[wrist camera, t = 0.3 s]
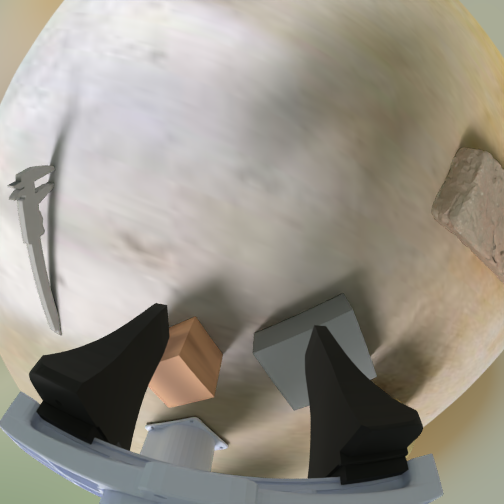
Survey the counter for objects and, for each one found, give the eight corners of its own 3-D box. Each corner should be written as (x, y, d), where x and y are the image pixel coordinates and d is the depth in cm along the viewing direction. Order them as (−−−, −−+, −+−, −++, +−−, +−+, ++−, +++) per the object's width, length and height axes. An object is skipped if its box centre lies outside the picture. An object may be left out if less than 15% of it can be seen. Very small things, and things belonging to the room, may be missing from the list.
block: (183, 367, 27) (169, 407, 21) (156, 332, 25) (134, 370, 20) (223, 354, 26) (214, 396, 20) (195, 315, 25) (178, 355, 19)
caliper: (51, 164, 21) (7, 169, 15) (57, 165, 21) (14, 169, 15) (57, 331, 27) (30, 357, 21) (63, 334, 27) (36, 361, 21)
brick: (425, 216, 21) (455, 227, 17) (456, 143, 19) (487, 142, 14) (498, 282, 23) (520, 297, 18) (523, 225, 20) (547, 235, 16)
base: (292, 390, 27) (294, 410, 24) (253, 333, 25) (252, 353, 22) (368, 358, 25) (376, 376, 23) (343, 293, 23) (352, 309, 20)
